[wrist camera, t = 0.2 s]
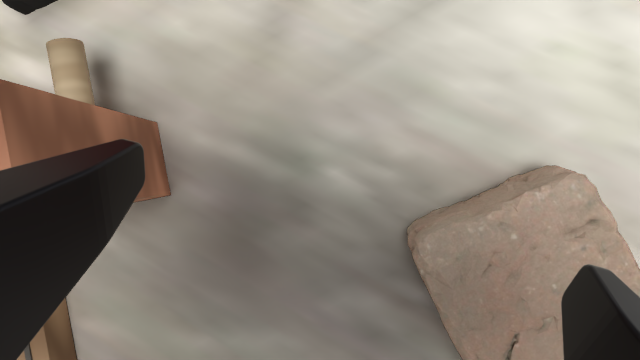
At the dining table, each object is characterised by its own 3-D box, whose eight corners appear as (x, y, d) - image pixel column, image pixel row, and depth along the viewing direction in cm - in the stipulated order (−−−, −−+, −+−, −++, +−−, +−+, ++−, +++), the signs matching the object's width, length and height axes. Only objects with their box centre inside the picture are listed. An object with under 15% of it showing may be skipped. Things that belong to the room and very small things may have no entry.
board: (107, 524, 25) (84, 555, 23) (-1, 538, 26) (-34, 570, 24) (34, 130, 25) (5, 126, 23) (-71, 153, 26) (-109, 151, 24)
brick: (395, 229, 24) (403, 242, 19) (545, 158, 23) (592, 154, 19) (539, 522, 23) (583, 609, 19) (697, 459, 23) (784, 532, 18)
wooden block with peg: (170, 194, 25) (18, 207, 14) (84, 212, 25) (-129, 237, 14) (143, 50, 25) (-29, -51, 14) (58, 70, 25) (-174, -14, 14)
